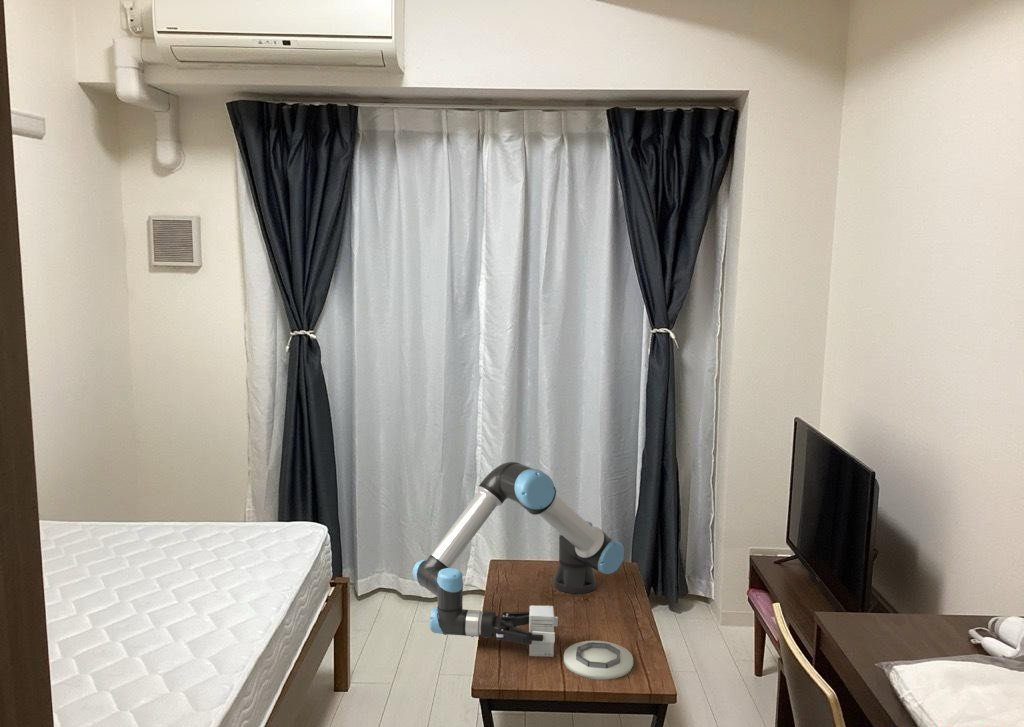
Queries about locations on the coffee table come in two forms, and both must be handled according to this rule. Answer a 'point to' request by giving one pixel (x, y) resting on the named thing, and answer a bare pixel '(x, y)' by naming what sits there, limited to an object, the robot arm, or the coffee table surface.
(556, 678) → the coffee table surface
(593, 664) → the seat ring
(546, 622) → the supplement box
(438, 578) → the robot arm
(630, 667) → the plate
